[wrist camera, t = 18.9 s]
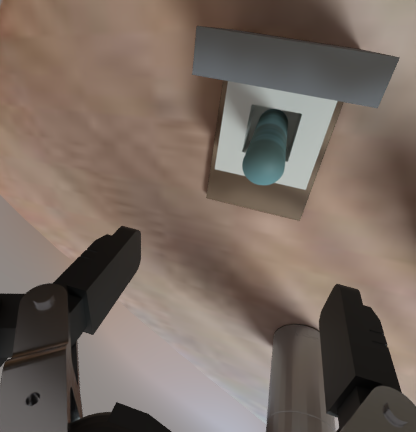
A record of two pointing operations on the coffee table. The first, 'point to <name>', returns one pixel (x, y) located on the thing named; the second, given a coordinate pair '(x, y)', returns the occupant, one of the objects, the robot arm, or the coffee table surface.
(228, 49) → the jig
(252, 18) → the coffee table surface
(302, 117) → the socket
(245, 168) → the dowel
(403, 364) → the coffee table surface
